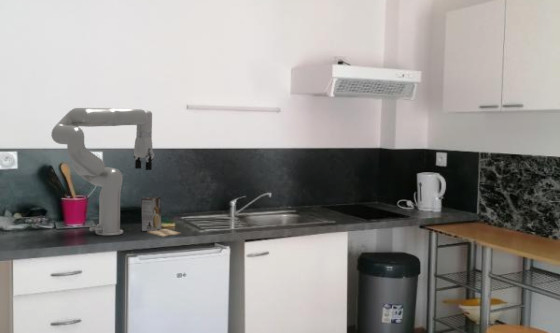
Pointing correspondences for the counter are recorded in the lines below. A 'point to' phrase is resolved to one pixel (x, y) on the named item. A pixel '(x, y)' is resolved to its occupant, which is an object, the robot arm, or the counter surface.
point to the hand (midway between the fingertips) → (143, 169)
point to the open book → (163, 232)
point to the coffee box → (151, 213)
